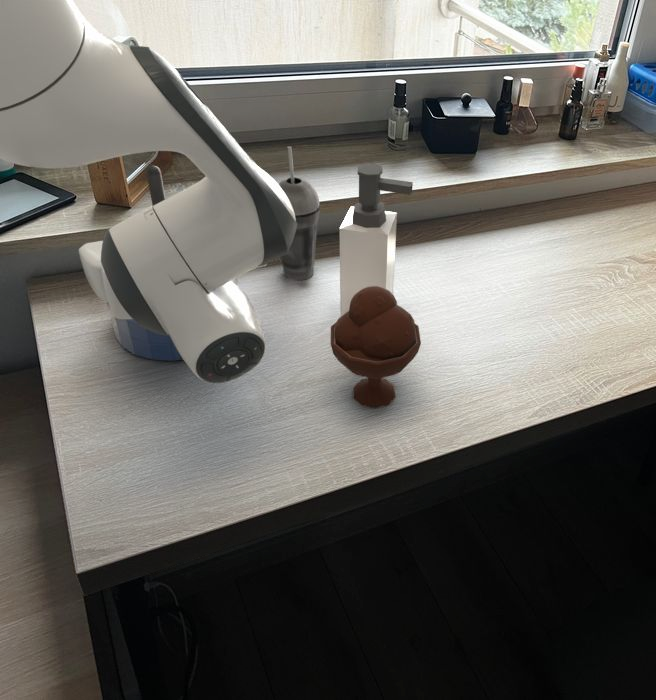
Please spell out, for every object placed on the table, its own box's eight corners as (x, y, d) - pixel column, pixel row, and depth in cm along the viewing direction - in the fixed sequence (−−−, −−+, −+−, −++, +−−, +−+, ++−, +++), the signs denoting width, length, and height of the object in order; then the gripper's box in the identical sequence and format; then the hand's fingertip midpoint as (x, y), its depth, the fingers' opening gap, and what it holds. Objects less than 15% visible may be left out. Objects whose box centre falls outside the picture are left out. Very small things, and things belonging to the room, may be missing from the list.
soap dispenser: (400, 325, 104) (408, 185, 91) (340, 316, 105) (338, 175, 91) (408, 300, 109) (416, 164, 96) (351, 292, 110) (351, 155, 96)
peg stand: (152, 308, 93) (124, 179, 82) (150, 283, 97) (124, 156, 86) (201, 302, 95) (181, 175, 84) (197, 278, 99) (177, 153, 88)
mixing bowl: (116, 372, 91) (106, 334, 87) (115, 300, 102) (106, 264, 99) (249, 352, 96) (245, 316, 93) (234, 286, 108) (230, 251, 104)
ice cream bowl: (313, 402, 90) (309, 303, 81) (364, 355, 98) (365, 261, 89) (385, 435, 87) (389, 337, 78) (431, 384, 95) (440, 290, 86)
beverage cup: (283, 289, 108) (274, 164, 96) (268, 264, 113) (258, 142, 101) (329, 280, 112) (326, 157, 99) (313, 256, 116) (308, 137, 104)
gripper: (278, 237, 84) (242, 187, 93) (86, 274, 75) (66, 214, 84) (281, 283, 88) (246, 230, 97) (100, 323, 79) (79, 260, 88)
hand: (161, 223), depth 90 cm, fingers closed on peg stand
